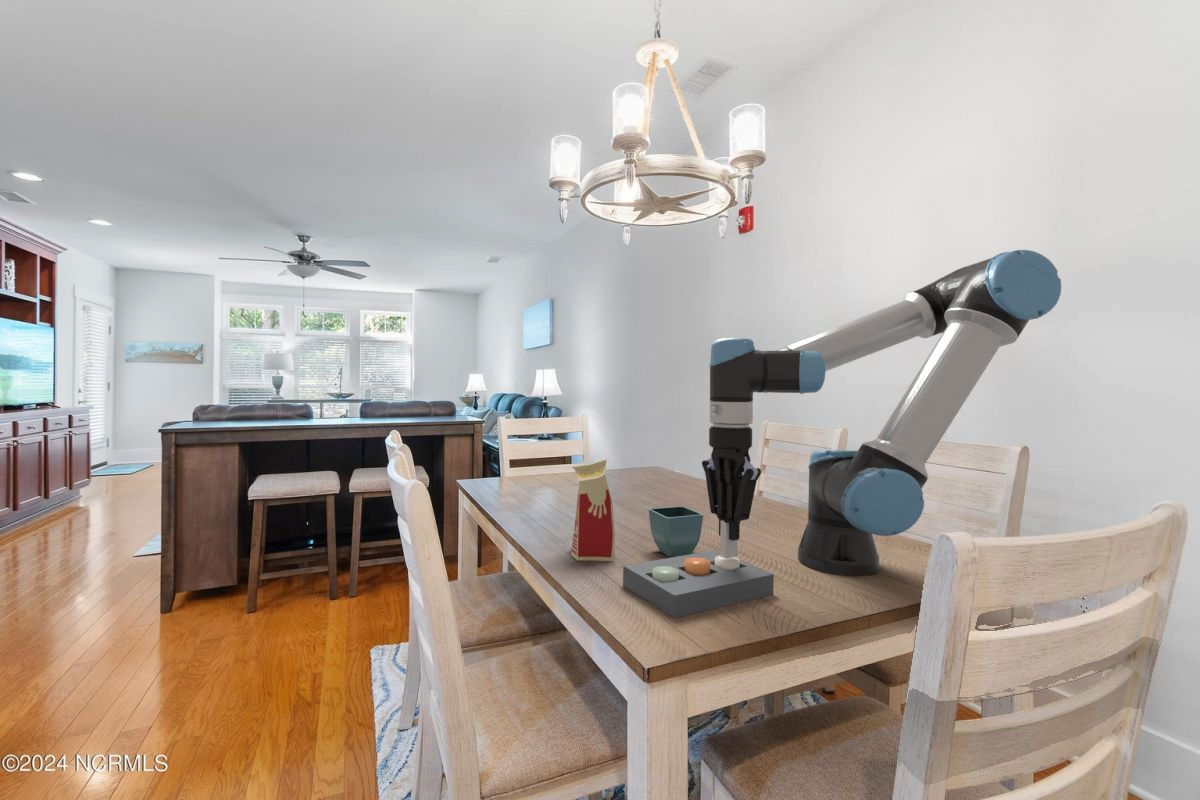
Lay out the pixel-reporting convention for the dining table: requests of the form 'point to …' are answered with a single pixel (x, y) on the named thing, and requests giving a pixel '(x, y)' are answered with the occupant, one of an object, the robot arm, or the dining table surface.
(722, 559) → the cream button
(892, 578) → the dining table surface
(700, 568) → the orange button
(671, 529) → the flower pot
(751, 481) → the robot arm
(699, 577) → the button panel
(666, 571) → the sage button
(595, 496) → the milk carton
